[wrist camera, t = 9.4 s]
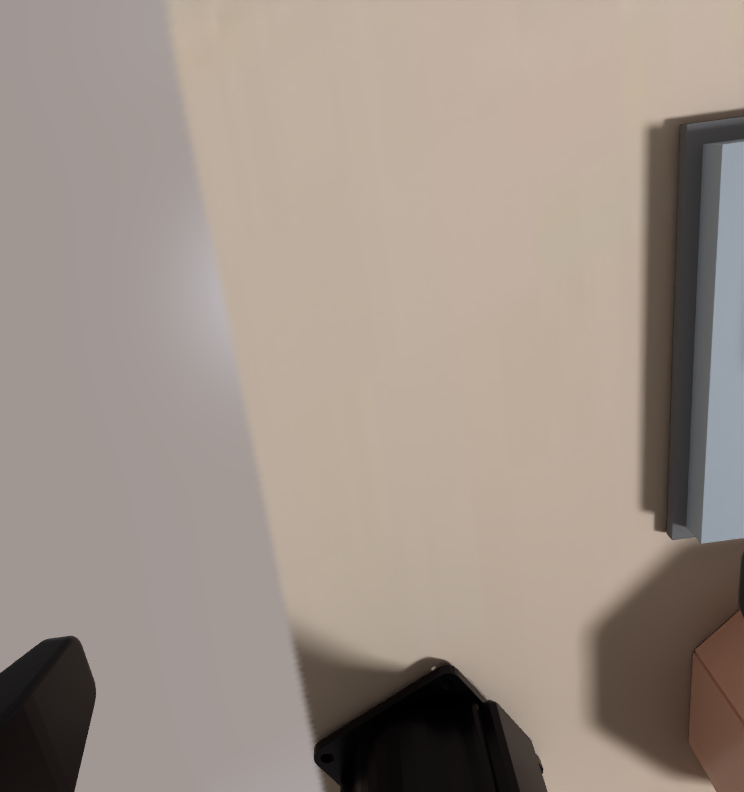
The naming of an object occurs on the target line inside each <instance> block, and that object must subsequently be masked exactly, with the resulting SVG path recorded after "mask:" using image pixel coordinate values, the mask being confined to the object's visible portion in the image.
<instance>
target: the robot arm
mask: <svg viewBox="0 0 744 792" xmlns="http://www.w3.org/2000/svg"><path fill="white" fill-rule="evenodd" d="M738 603H739V607H740V611H741V613H742V616H743V618H744V551H743V553H742V556H741V564H740V577H739V589H738ZM445 679H451V680H450V681H447V682H445V681H443V680H445ZM95 698H96V688H95V682H94V678H93V676H92V673H91V670H90V667H89V664H88V661H87V659H86V656H85V653H84V650H83V647H82V645H81V643H80V641H79V640H78V639H77V638H76V637H74V636H66V637H59V638H51V639H46V640H44V641H42V642H40V643H39V644H38V645H36V646H35V647H34V648H33V649H31V650H30V651H29V652H27V653H26V654H25V655H24V656H22V657H21V658H19V659H18V660H17V661H15V662H14V663H13V664H12V665H11V666H9V667H8V668H6V669H5V670H4V671H3V672H1V673H0V792H74V791H75V786H76V782H77V778H78V773H79V768H80V765H81V760H82V756H83V752H84V747H85V743H86V738H87V734H88V730H89V726H90V721H91V717H92V713H93V708H94V703H95ZM325 753H330V754H325ZM314 761H315V763H316V764H317V765H318V766H319V767H320V768H321V769H322V770H323V771H324V772H326V773H327V774H328V775H329V776H330V777H331V778H332V779H333V780H334V781H336V782H337V783H338V784H339V785H340V792H547V789H546V786H545V782H544V779H543V776H542V773H543V767H542V764H541V761H540V759H539V757H538V756H537V754H536V753H535V751H534V747H533V744H532V741H531V739H530V738H529V737H528V736H527V735H526V734H525V733H524V732H523V731H522V730H521V728H520V727H519V726H518V725H517V724H516V723H515V722H514V721H513V720H512V719H511V718H510V716H509V715H508V714H507V713H506V712H505V711H504V710H503V709H502V708H501V707H500V706H499V704H498V703H497V702H494V701H491V700H488V701H487V700H486V699H485V698H484V697H483V696H482V695H481V694H480V693H479V692H478V691H477V690H476V688H475V687H474V686H473V685H472V684H471V683H470V682H469V681H468V680H467V679H466V678H465V677H464V675H463V674H462V673H461V672H460V671H459V670H458V669H457V668H455V667H454V666H450V665H444V666H441V667H439V668H437V669H435V670H434V671H432V672H430V673H429V674H427V675H426V676H424V677H422V678H421V679H419V680H418V681H416V682H414V683H413V684H411V685H409V686H408V687H406V688H405V689H403V690H401V691H400V692H398V693H397V694H395V695H393V696H392V697H390V698H389V699H387V700H385V701H384V702H382V703H380V704H379V705H377V706H376V707H374V708H372V709H371V710H369V711H368V712H366V713H364V714H363V715H361V716H359V717H358V718H356V719H355V720H353V721H351V722H350V723H348V724H347V725H345V726H343V727H342V728H340V729H338V730H337V731H335V732H334V733H332V734H330V735H329V736H327V737H326V738H324V739H322V740H321V741H319V742H318V743H317V744H316V745H315V748H314Z"/></svg>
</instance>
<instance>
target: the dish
mask: <svg viewBox="0 0 744 792" xmlns="http://www.w3.org/2000/svg"><path fill="white" fill-rule="evenodd" d="M695 651H696V653H693V664H692V683H691V702H690V721H689V740H688V742H689V744H690V746H691V748H692V750H693V751H694V753H695V755H696V757H697V758H698V760H699V762H700V763H701V765H702V767H703V769H704V770H705V772H706V774H707V776H708V777H709V779H710V781H711V783H712V784H713V786H714V788H715V790H716V791H717V792H744V618H743V616H742V613H741V611H740V610H739V611H738V612H737V613H736V614H735V615H733V616H732V617H731V618H730V619H729V620H728V621H727V622H726V623H724V624H723V625H722V626H721V627H720V628H719V629H718V630H717V631H716V632H714V633H713V634H712V635H711V636H710V637H709V638H708V639H707V640H705V641H704V642H703V643H702V644H701V645H700V646H699V647H698V648H696V649H695Z"/></svg>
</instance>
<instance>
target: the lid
mask: <svg viewBox="0 0 744 792" xmlns="http://www.w3.org/2000/svg"><path fill="white" fill-rule="evenodd" d="M686 527H687V528H688V529H689V531H690V532H691V533H692V534H693V535H694V536H695V537H696V539H697V540H698V541H699V542H700V543H701V544H703V543H710V542H718V541H726V540H733V539H741V538H744V139H739V140H731V141H724V142H717V143H709V144H703V158H702V181H701V204H700V226H699V249H698V272H697V294H696V317H695V340H694V362H693V385H692V408H691V430H690V453H689V476H688V498H687V521H686Z"/></svg>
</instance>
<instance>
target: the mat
mask: <svg viewBox="0 0 744 792" xmlns="http://www.w3.org/2000/svg"><path fill="white" fill-rule="evenodd" d="M739 139H744V116H741V117H734V118H726V119H719V120H712V121H704V122H697V123H690V124H682V125H680V146H679V176H678V207H677V237H676V267H675V298H674V328H673V359H672V389H671V419H670V450H669V480H668V510H667V535H668V536H669V537H670V538H671V539H672V540H676V539H684V538H692V537H695V536H694V535H693V534H692V533H691V532H690V531H689V529H688V528H687V527H686V521H687V498H688V476H689V453H690V430H691V408H692V385H693V362H694V340H695V317H696V294H697V272H698V249H699V226H700V204H701V181H702V158H703V144H709V143H717V142H724V141H731V140H739Z"/></svg>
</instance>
